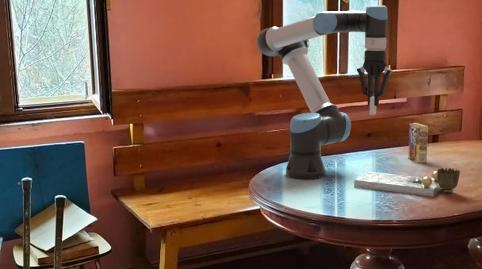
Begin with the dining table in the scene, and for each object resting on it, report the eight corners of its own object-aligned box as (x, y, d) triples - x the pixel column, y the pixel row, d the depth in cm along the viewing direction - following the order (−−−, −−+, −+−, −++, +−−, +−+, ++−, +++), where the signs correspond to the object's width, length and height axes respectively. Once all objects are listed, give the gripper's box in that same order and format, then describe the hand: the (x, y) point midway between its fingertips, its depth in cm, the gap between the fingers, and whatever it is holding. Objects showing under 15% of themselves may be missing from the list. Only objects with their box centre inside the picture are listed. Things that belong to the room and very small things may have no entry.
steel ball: (409, 183, 219) (417, 178, 217) (412, 181, 222) (420, 176, 220) (415, 191, 218) (423, 186, 217) (418, 189, 221) (426, 184, 219)
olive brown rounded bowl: (455, 197, 209) (456, 173, 207) (433, 194, 213) (434, 171, 211) (461, 191, 215) (462, 169, 214) (439, 188, 219) (440, 166, 217)
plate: (354, 186, 224) (354, 179, 224) (367, 177, 236) (367, 171, 235) (433, 196, 210) (433, 189, 209) (443, 186, 221) (443, 179, 221)
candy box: (427, 162, 258) (428, 126, 255) (418, 163, 257) (419, 126, 254) (417, 157, 266) (418, 122, 264) (407, 158, 266) (408, 123, 263)
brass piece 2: (430, 181, 219) (430, 171, 219) (432, 179, 222) (433, 169, 222) (440, 182, 218) (440, 173, 217) (442, 180, 221) (442, 170, 220)
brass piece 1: (420, 187, 212) (420, 177, 212) (422, 184, 215) (423, 175, 214) (430, 188, 210) (430, 178, 210) (432, 186, 213) (433, 176, 213)
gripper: (354, 49, 224) (352, 114, 229) (389, 50, 217) (386, 117, 222) (362, 48, 230) (359, 111, 235) (396, 49, 223) (393, 114, 228)
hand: (372, 114), depth 228 cm, fingers closed
